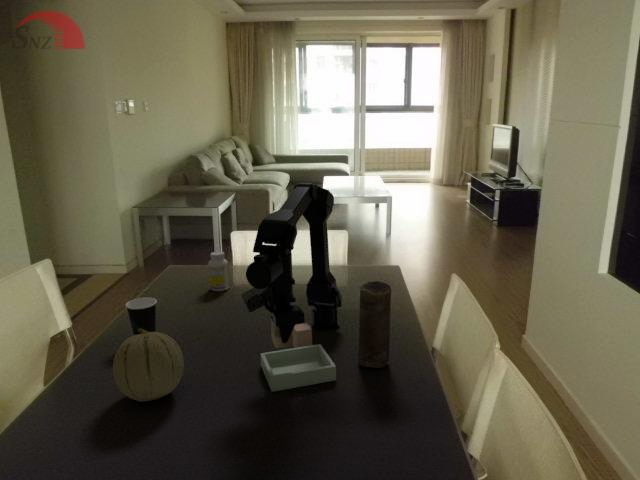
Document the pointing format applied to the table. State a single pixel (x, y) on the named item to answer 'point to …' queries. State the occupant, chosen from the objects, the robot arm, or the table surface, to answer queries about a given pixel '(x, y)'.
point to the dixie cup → (142, 314)
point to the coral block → (302, 335)
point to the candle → (374, 324)
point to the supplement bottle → (218, 272)
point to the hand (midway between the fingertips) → (282, 338)
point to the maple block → (279, 337)
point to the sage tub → (297, 367)
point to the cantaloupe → (148, 366)
